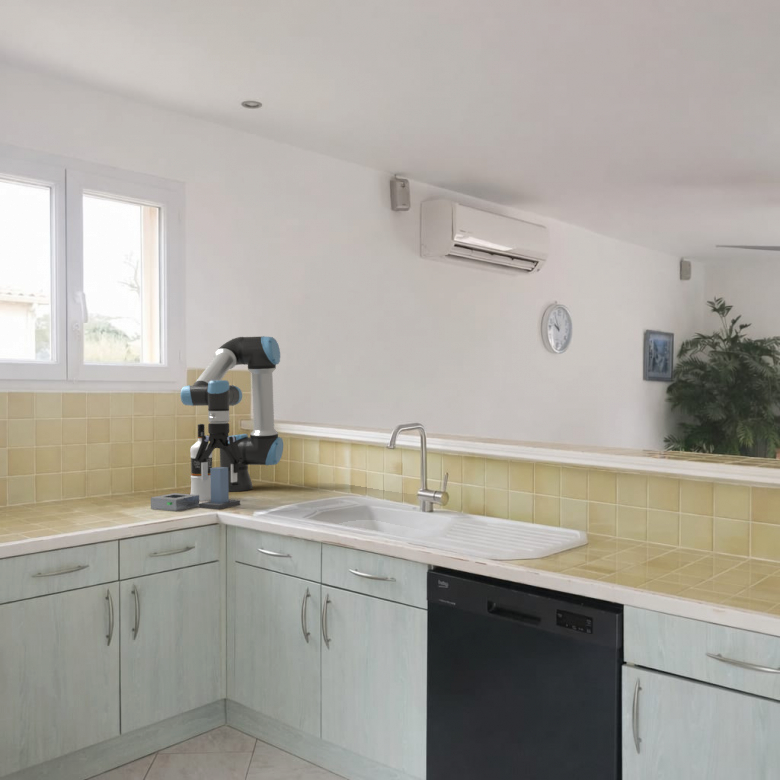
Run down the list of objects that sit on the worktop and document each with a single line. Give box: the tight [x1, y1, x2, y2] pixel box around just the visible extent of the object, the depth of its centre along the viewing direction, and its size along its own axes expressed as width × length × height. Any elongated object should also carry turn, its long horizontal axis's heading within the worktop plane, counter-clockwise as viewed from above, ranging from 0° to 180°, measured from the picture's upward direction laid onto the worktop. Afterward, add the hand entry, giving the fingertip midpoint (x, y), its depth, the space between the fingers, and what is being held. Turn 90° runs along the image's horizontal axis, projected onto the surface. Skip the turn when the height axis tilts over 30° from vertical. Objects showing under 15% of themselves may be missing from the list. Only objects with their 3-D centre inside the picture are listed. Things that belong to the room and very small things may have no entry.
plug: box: [210, 466, 230, 504], centre depth 293 cm, size 4×4×14 cm
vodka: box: [189, 423, 213, 502], centre depth 309 cm, size 9×9×30 cm
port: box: [150, 492, 200, 512], centre depth 291 cm, size 13×12×5 cm
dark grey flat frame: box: [198, 499, 241, 511], centre depth 293 cm, size 12×9×2 cm
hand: (219, 481), depth 292 cm, fingers open, 13 cm apart
